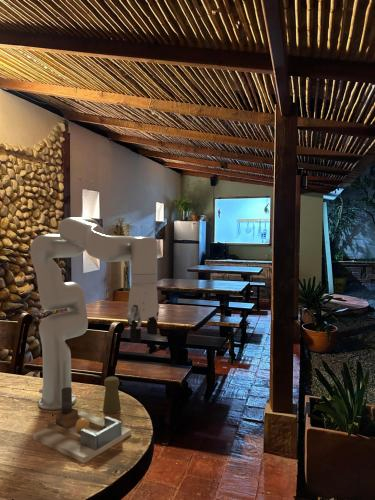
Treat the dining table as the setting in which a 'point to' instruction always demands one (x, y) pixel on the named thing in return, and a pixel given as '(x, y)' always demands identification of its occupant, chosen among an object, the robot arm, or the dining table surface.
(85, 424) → the ball
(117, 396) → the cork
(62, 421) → the player block
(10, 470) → the dining table surface
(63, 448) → the lane board
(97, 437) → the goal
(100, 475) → the dining table surface
